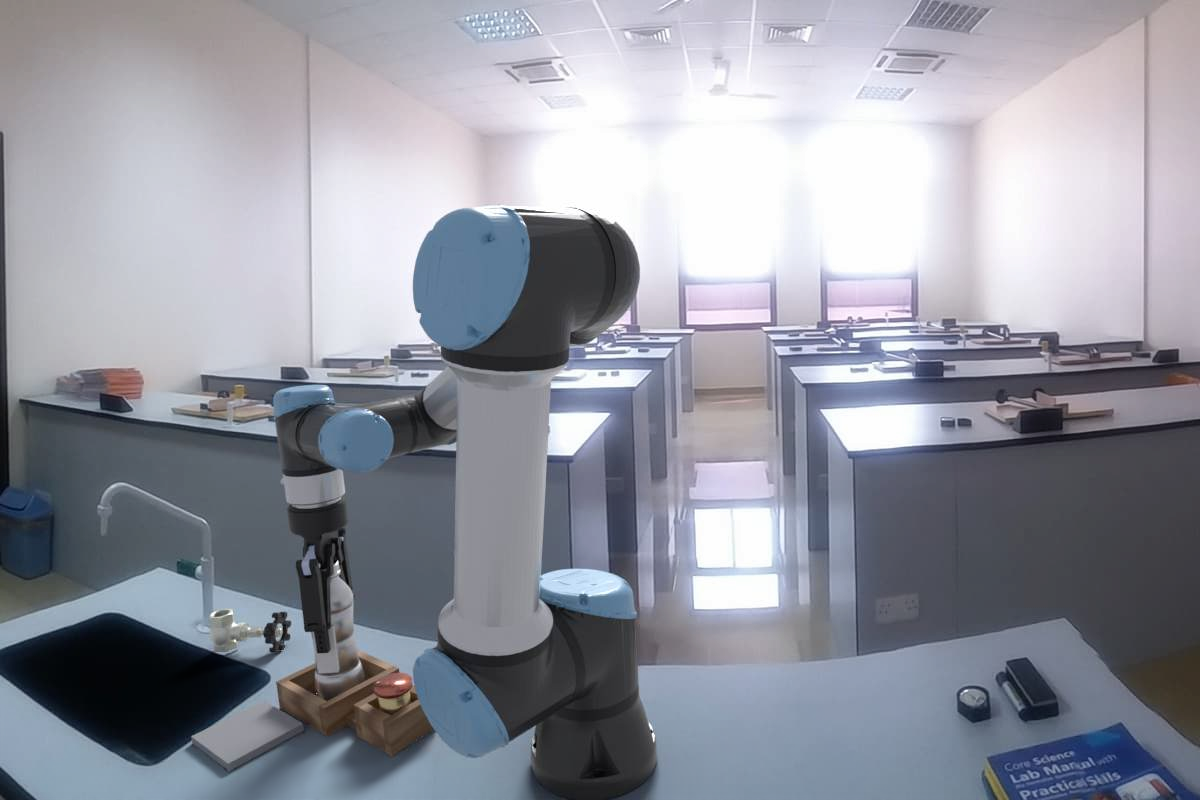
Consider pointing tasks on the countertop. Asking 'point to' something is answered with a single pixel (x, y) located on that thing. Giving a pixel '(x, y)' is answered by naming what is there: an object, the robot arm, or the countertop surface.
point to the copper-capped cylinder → (393, 692)
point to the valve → (246, 631)
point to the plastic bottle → (340, 642)
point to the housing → (355, 708)
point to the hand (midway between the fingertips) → (336, 658)
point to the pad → (246, 734)
